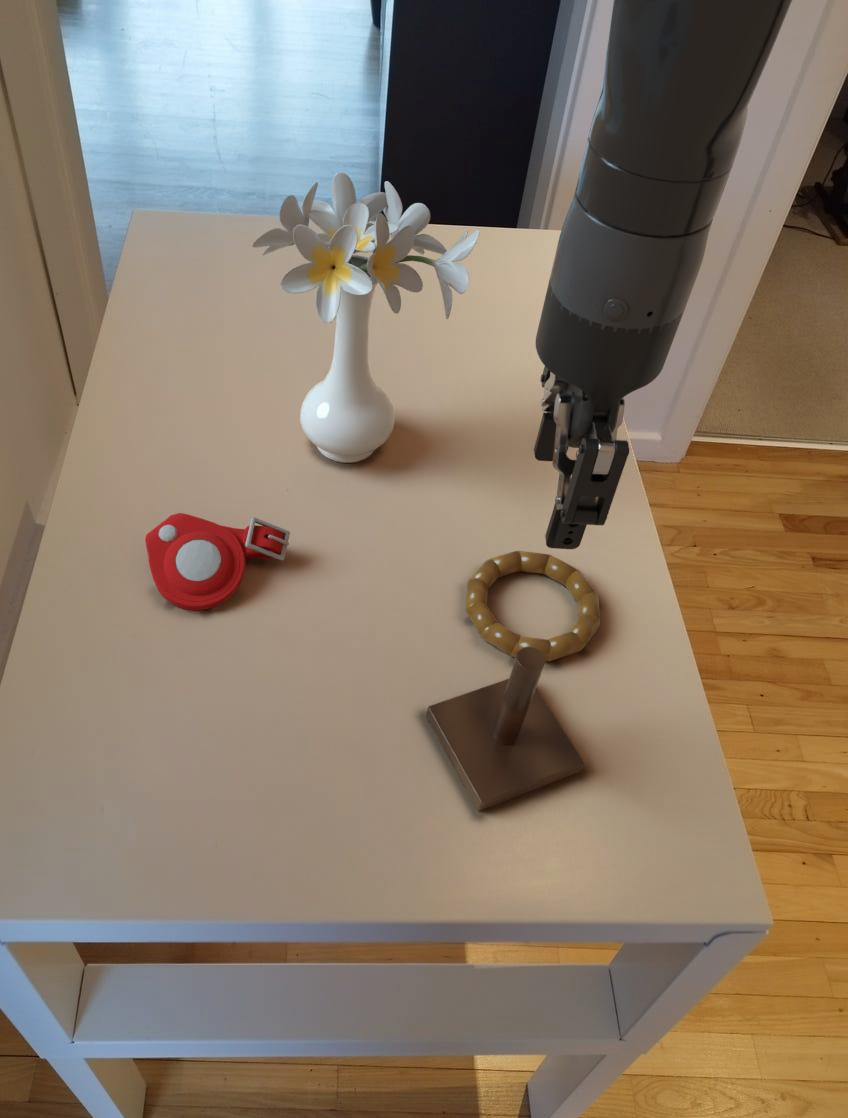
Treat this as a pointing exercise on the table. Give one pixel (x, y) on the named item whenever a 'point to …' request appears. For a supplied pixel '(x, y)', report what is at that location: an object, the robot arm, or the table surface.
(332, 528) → the table surface
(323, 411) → the flower vase
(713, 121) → the robot arm
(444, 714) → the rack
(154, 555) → the tracker holder
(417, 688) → the table surface
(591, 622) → the ring
